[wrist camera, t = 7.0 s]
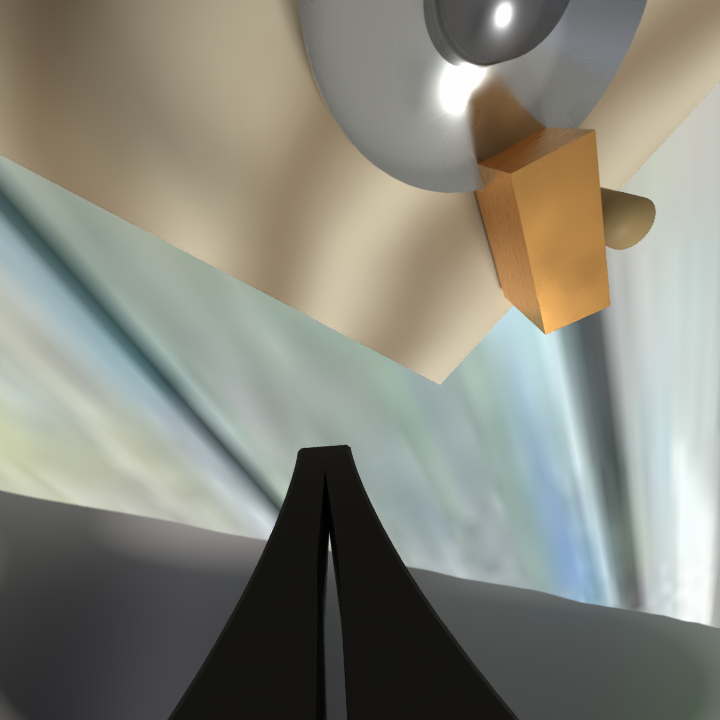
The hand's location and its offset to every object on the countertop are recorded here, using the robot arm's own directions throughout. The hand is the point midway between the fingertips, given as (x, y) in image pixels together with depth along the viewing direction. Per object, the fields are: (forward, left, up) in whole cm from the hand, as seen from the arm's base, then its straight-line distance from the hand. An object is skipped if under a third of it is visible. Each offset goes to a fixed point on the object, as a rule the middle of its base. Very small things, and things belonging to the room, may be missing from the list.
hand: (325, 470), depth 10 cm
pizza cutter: (0, -11, -8) cm, 13 cm away
